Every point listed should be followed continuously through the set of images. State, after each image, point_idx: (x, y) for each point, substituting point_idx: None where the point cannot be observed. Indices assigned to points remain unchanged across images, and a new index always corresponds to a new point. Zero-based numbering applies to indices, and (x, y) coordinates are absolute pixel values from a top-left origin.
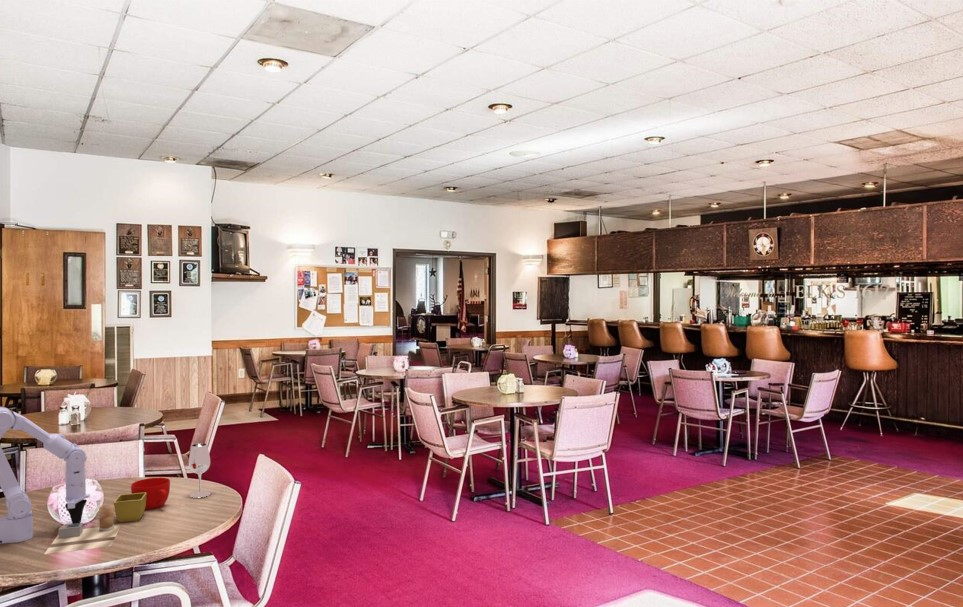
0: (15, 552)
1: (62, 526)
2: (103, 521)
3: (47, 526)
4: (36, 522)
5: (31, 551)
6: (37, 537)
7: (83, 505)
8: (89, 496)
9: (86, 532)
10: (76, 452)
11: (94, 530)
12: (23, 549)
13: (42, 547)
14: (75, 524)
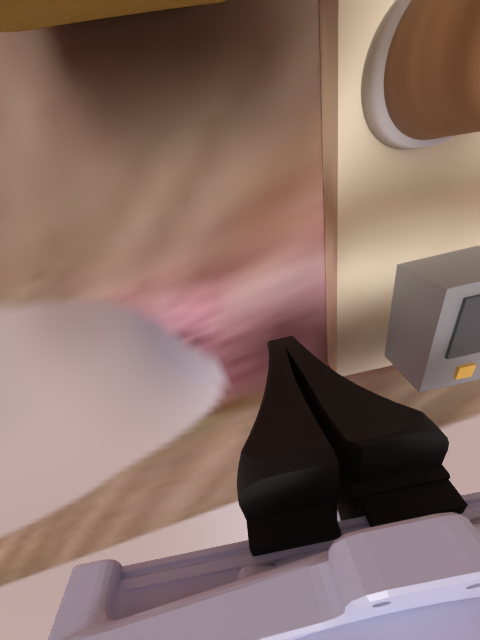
0: (445, 416)
1: (461, 377)
2: None
3: (190, 449)
4: (146, 489)
5: None
6: None
7: (427, 419)
8: (409, 531)
9: (423, 232)
10: None
11: (405, 188)
12: (428, 409)
13: None
14: (472, 319)
